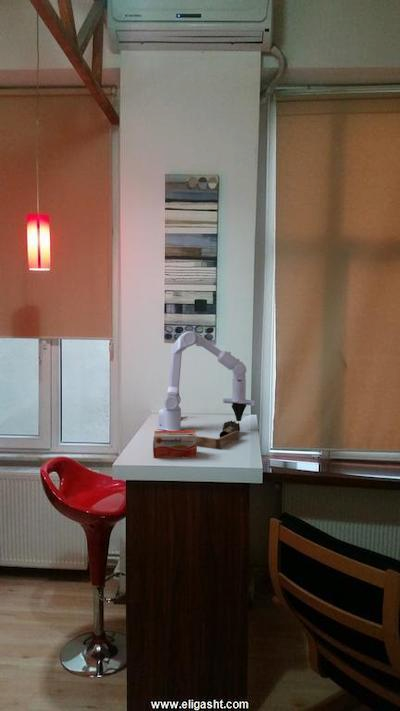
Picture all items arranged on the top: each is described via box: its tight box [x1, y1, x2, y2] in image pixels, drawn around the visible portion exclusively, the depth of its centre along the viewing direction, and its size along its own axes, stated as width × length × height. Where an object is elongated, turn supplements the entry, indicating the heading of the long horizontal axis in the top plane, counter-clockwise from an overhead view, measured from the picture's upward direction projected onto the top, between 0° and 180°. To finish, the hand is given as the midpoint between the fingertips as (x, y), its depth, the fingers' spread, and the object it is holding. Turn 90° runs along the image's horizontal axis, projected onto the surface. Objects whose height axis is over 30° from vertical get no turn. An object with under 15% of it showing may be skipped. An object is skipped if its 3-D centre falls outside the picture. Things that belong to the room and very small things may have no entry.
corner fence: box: [196, 431, 240, 450], centre depth 192 cm, size 13×18×4 cm
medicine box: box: [152, 429, 198, 459], centre depth 173 cm, size 15×8×8 cm, turn 94°
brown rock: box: [219, 420, 241, 438], centre depth 202 cm, size 18×7×6 cm, turn 161°
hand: (238, 420), depth 213 cm, fingers closed
